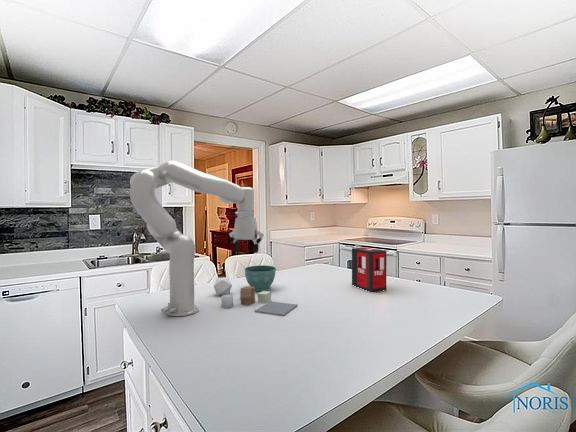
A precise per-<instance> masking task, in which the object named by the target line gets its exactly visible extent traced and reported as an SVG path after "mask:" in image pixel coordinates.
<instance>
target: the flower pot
mask: <svg viewBox="0 0 576 432" xmlns="http://www.w3.org/2000/svg"><path fill="white" fill-rule="evenodd" d="M276 270H277V268H276V266H272V265H266V264H264V265H251V266H247V267H246V266H245V268H244V276H245V278H246V282H247V283H248V285H249V287H255V292H262V291H269V290H270V288H271V286H272V284H273V283H274V280H275V279H276V278H275V277H276Z"/></svg>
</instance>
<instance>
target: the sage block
mask: <svg viewBox="0 0 576 432" xmlns="http://www.w3.org/2000/svg"><path fill="white" fill-rule="evenodd" d="M270 301H272V292H271V291H269V290H266V291H259V292H258V293H257V302H258V303H260V304H261V303H263V304H267V303H268V302H270Z"/></svg>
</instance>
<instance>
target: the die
mask: <svg viewBox="0 0 576 432" xmlns="http://www.w3.org/2000/svg"><path fill="white" fill-rule="evenodd" d="M232 287H233V286H232V283H231V281H230V278H229V277H227V276H226V277H225V276H224V277H217V278H216V280H215V282H214V285H213V288H214V291H215V294H216V296H217V297H218V296H223V295H230V292H231V289H232Z"/></svg>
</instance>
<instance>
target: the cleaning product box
mask: <svg viewBox="0 0 576 432" xmlns="http://www.w3.org/2000/svg"><path fill="white" fill-rule="evenodd" d="M352 285H354V286H356V287H355V288H357V287H359V288H358V289H360V288H362V289H364V290H363V291H365V290H367V291H366V292H368V291H370V292H369V293H371V292H376V293H378V292H377V291H383V290H386V291H387V250H382V249H378V248H370V247H365V246H364V247H354V248H351V286H352ZM354 286H353V287H354ZM362 289H361V290H362ZM383 292H384V291H383Z"/></svg>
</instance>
